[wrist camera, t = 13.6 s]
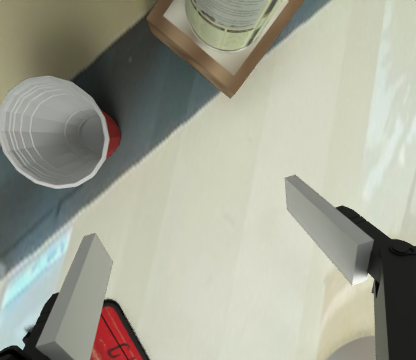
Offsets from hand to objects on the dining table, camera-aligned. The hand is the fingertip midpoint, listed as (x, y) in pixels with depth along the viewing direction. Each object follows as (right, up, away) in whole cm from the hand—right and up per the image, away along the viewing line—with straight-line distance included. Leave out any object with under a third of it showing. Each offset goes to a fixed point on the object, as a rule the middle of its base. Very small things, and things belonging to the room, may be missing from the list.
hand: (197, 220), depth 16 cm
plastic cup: (-15, +9, +18) cm, 25 cm away
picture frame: (+3, +24, +16) cm, 30 cm away
